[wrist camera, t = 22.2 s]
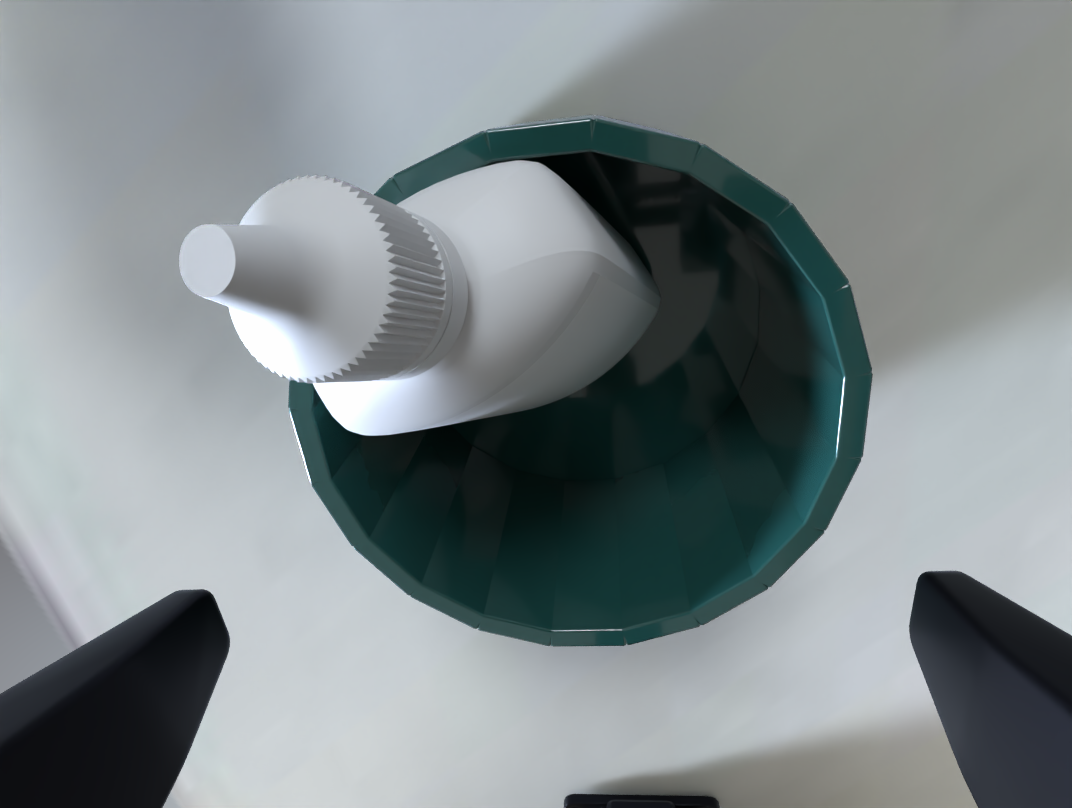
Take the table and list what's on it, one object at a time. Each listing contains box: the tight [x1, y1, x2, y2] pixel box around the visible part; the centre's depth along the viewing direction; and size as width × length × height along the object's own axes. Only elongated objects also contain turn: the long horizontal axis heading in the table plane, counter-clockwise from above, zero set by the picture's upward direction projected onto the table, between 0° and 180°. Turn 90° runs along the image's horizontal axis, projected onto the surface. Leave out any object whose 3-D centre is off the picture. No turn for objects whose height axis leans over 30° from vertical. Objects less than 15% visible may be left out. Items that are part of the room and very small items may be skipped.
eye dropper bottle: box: [179, 160, 661, 436], centre depth 12 cm, size 4×6×12 cm
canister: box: [288, 115, 873, 646], centre depth 15 cm, size 11×11×7 cm
